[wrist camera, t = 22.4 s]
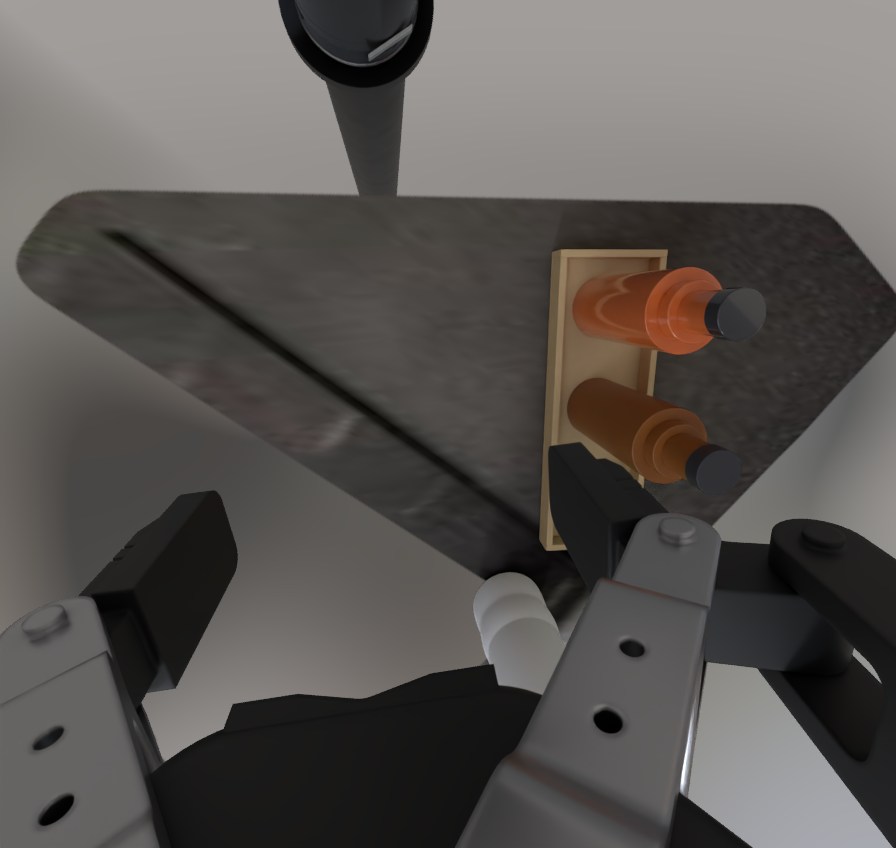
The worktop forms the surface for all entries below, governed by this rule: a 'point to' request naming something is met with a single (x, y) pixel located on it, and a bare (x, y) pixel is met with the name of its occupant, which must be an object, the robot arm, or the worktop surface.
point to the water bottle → (517, 631)
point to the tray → (586, 357)
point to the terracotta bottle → (666, 310)
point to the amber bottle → (651, 436)
